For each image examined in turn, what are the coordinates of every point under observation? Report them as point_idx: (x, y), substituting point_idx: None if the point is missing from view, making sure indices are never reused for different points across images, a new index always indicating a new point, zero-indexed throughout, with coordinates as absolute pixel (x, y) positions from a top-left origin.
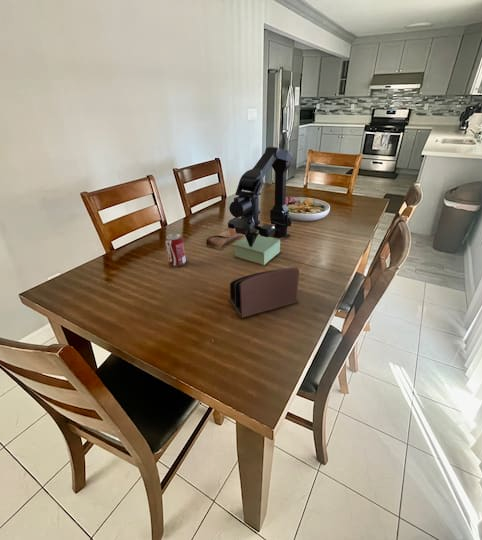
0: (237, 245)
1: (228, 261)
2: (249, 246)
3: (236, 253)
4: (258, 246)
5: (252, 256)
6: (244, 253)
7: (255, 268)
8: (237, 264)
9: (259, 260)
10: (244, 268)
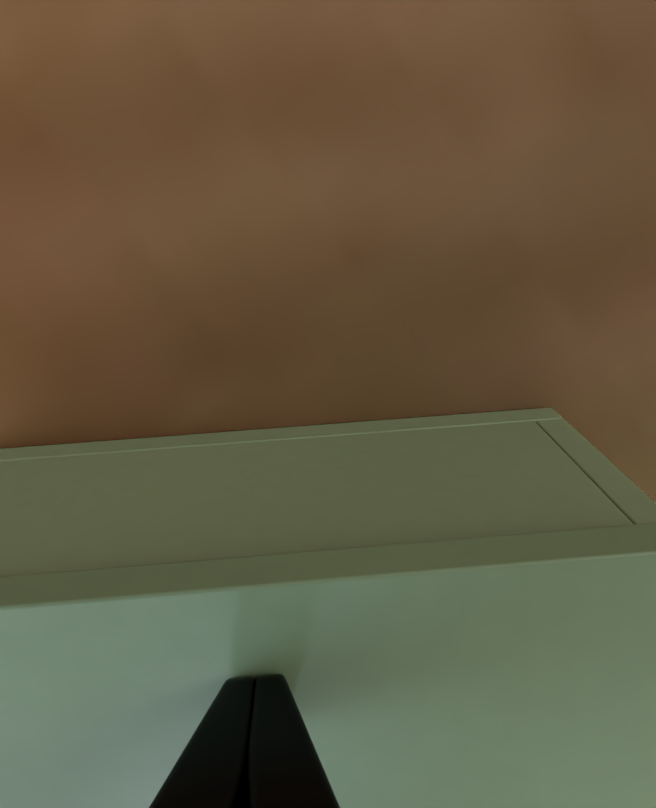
0: (629, 548)
1: (594, 222)
2: (294, 675)
3: (566, 445)
4: (103, 785)
5: (181, 497)
6: (384, 489)
7: (25, 311)
8: (384, 232)
9: (26, 488)
10: (180, 187)
